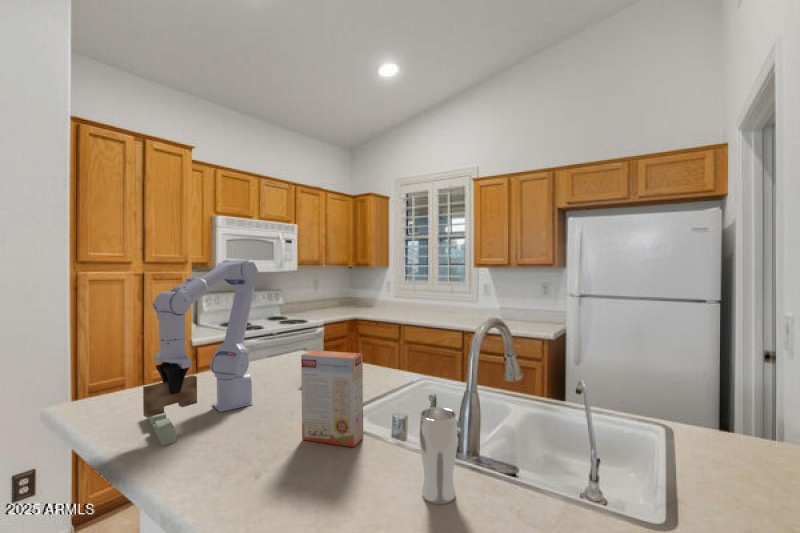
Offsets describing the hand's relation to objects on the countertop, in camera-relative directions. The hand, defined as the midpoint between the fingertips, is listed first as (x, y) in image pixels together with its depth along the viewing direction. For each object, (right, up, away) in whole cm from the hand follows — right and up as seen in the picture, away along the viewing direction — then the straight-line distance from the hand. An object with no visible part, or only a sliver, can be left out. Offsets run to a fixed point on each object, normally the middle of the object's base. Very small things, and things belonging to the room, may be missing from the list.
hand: (173, 392), depth 101 cm
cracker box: (+41, -10, -4) cm, 43 cm away
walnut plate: (0, -4, 0) cm, 4 cm away
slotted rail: (-4, -10, +2) cm, 11 cm away
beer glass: (+65, -10, -28) cm, 71 cm away
